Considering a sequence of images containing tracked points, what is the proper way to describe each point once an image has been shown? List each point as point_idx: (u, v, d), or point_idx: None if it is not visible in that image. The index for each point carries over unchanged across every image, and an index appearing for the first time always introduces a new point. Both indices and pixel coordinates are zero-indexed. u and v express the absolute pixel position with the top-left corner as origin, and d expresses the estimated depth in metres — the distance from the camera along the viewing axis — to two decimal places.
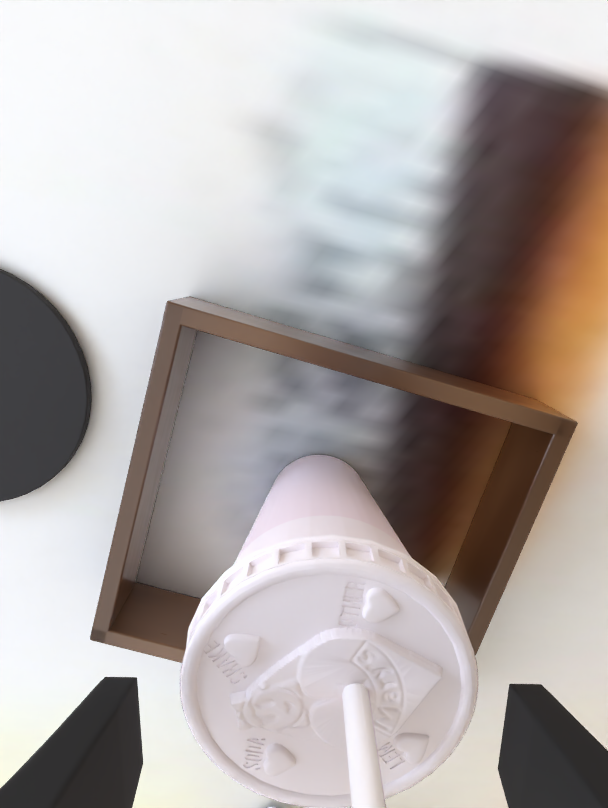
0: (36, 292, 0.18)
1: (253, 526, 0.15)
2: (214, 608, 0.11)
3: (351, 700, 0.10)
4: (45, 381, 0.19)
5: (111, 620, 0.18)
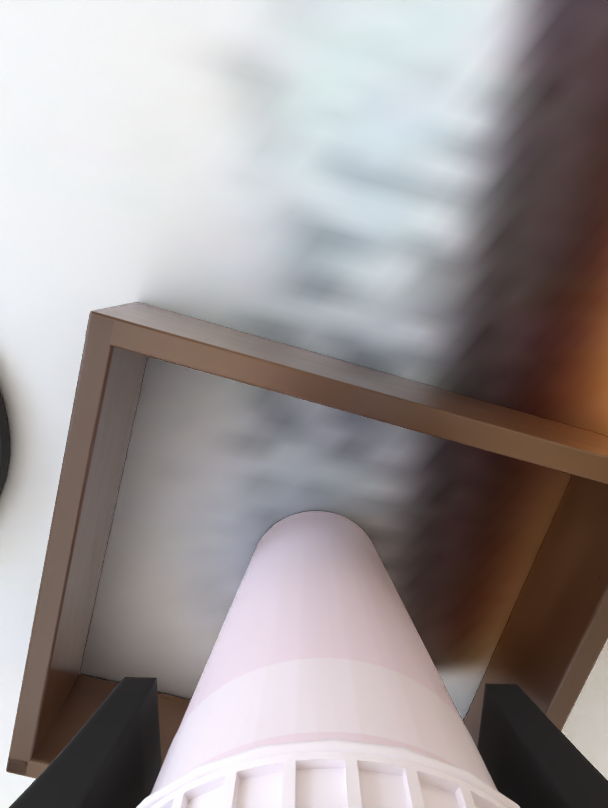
0: None
1: (217, 643, 0.10)
2: None
3: None
4: None
5: (34, 746, 0.13)
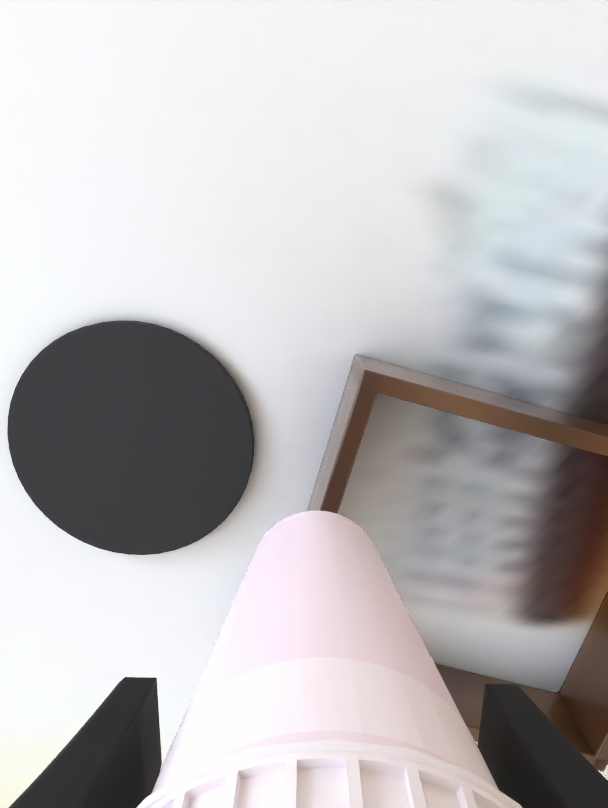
0: (208, 353, 0.19)
1: (218, 642, 0.10)
2: None
3: None
4: (213, 438, 0.19)
5: None
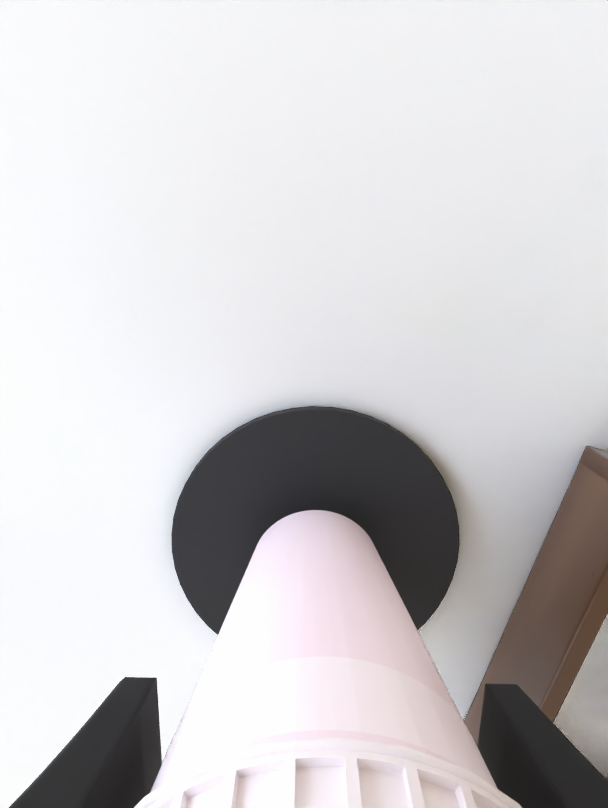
0: (415, 444, 0.16)
1: (217, 642, 0.10)
2: None
3: None
4: (413, 541, 0.16)
5: None
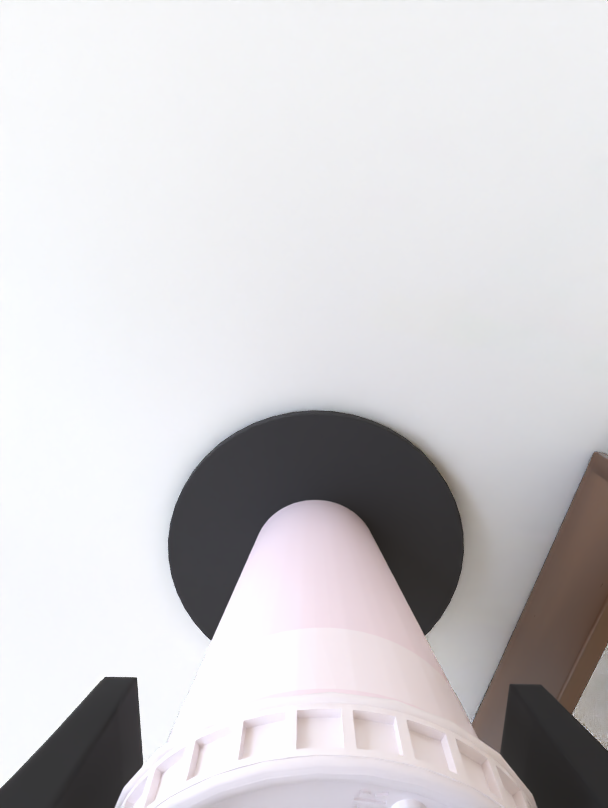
0: (418, 449, 0.15)
1: (222, 620, 0.11)
2: None
3: None
4: (416, 549, 0.16)
5: None
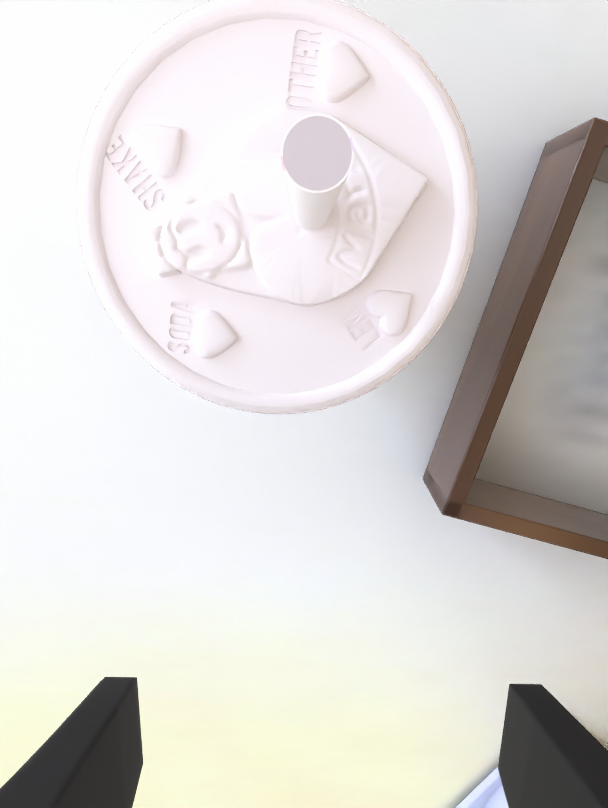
0: None
1: None
2: (116, 79, 0.08)
3: None
4: None
5: (468, 492, 0.17)
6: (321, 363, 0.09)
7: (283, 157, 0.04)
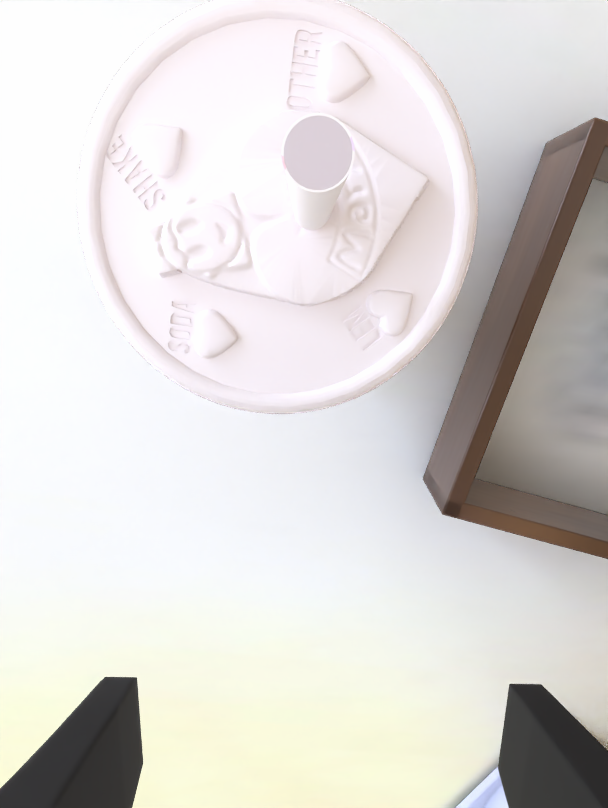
0: None
1: None
2: (116, 79, 0.08)
3: None
4: None
5: (468, 492, 0.17)
6: (321, 363, 0.09)
7: (284, 157, 0.04)
